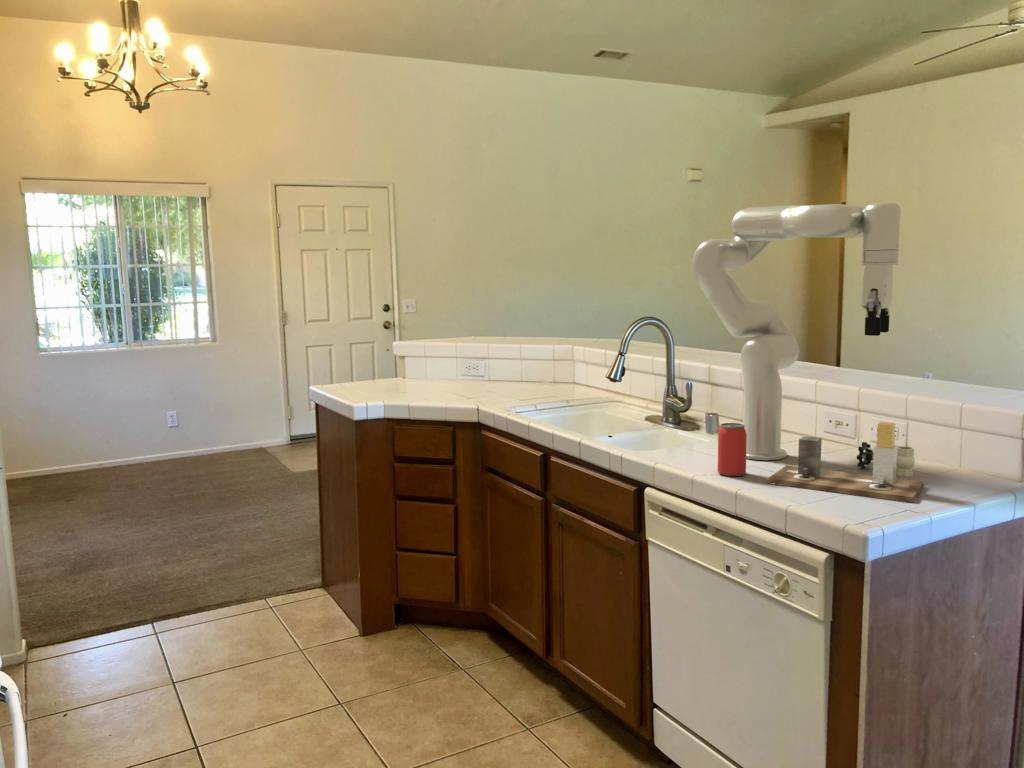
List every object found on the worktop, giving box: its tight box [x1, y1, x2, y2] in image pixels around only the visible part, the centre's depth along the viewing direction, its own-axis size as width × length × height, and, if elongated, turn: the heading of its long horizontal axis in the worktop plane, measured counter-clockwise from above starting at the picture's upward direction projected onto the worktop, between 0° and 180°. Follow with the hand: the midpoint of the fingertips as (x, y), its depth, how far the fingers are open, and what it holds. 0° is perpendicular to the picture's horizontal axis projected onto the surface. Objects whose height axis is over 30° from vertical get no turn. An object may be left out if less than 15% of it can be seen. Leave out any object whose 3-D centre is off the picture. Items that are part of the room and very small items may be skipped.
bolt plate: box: [767, 435, 925, 504], centre depth 178 cm, size 30×14×10 cm, turn 55°
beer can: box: [717, 422, 747, 477], centre depth 190 cm, size 7×7×12 cm
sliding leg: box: [872, 421, 898, 486], centre depth 173 cm, size 4×6×13 cm, turn 145°
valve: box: [856, 441, 916, 478], centre depth 188 cm, size 7×7×12 cm
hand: (876, 333), depth 182 cm, fingers open, 9 cm apart
